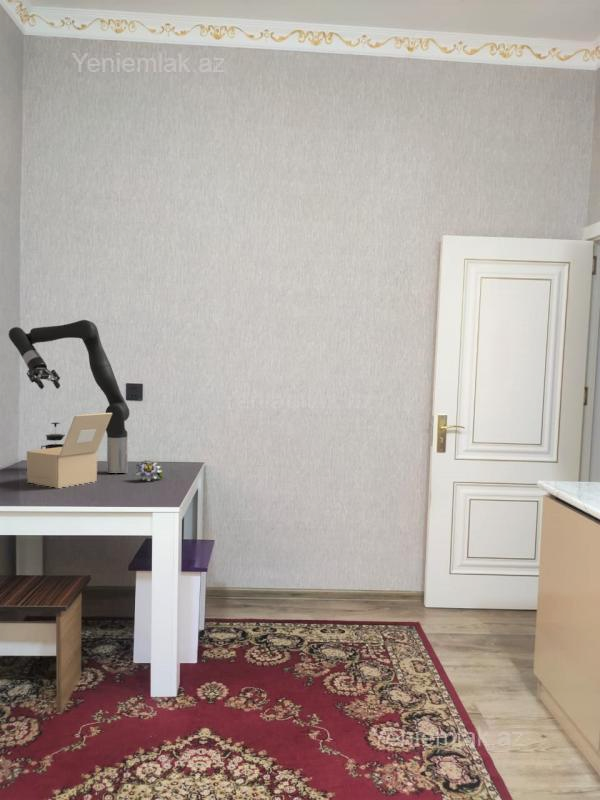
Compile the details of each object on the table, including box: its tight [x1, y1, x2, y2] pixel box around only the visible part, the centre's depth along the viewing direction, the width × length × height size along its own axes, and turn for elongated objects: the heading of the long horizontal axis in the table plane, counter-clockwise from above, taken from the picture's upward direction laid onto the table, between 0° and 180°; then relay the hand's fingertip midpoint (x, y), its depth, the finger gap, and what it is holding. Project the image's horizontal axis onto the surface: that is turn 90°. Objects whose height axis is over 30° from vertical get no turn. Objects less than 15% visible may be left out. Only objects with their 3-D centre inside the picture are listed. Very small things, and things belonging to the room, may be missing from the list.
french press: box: [40, 422, 66, 449], centre depth 315 cm, size 12×9×23 cm
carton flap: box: [60, 412, 112, 456], centre depth 273 cm, size 20×19×1 cm
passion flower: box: [134, 457, 164, 482], centre depth 292 cm, size 11×11×12 cm
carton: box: [26, 447, 98, 489], centre depth 282 cm, size 21×21×14 cm
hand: (50, 387), depth 296 cm, fingers open, 8 cm apart
